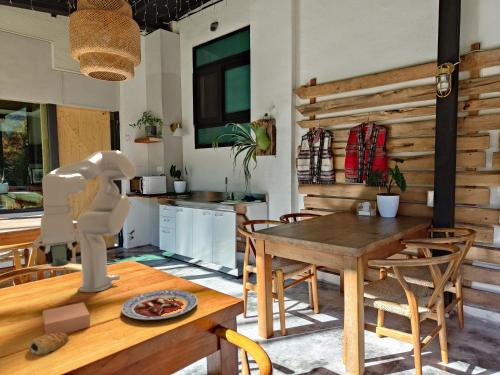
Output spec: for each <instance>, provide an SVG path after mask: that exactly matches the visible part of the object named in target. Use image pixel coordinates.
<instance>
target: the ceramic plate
mask: <svg viewBox="0 0 500 375" xmlns="http://www.w3.org/2000/svg"><path fill="white" fill-rule="evenodd" d="M167 298H168V299H169V300H171V301H168V300H166V299H167ZM174 299H180V300H183V301H185V302H186V306H185V308H184V309H183V310H181V311H179V312H177V313H173V314H170V315H165V316H161V315H163V314H165V313H170V312H173V311H176V310H178V309H182V308H181V306H183V305H184V304H183V303H182V302H180V301H176V300H174ZM172 300H173V301H172ZM197 304H198V298H197V296H196V295H195V294H193V293H191V292H188V291H186V290H178V289H177V290H176V289H166V290H156V291H155V290H154V291H150V292H149V291H148V292H145V293H141V294H138V295H135V296H134V297H131V298H129V299H128V300H126V301H125V302H124V303H123V304H122V306H121V312H122V314H123V315H124V316H126V317H129V318H130V319H131V318H132V319H135V320H144V321H149V320H150V321H151V320H153V321H154V320H162V319H163V320H164V319H168V318H169V319H170V318H174V317H177V316H180V315H183V314H185V313H188V312H189V311H191V310H192V309H193V308H195V307H196V306H197Z"/></svg>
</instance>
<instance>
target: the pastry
mask: <svg viewBox="0 0 500 375" xmlns="http://www.w3.org/2000/svg"><path fill="white" fill-rule="evenodd" d="M68 341H69V336H68V334H67V333H58V334H56V333H52V334H46V335H45V334H43V335H41V336H38V337H36V338H35V339H32V340H31V341H30V343H29V346H28V349H29V351H30V352H31V354H35V355H37V356H38V355H39V356H40V355H41V356H42V354H43V355H46V354H49V353H50V352H53V351H56V350H58V349H60V348H62V347H63V346H64V345H66V344H67V343H68ZM59 347H60V348H59Z"/></svg>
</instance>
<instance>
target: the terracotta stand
mask: <svg viewBox="0 0 500 375" xmlns="http://www.w3.org/2000/svg"><path fill="white" fill-rule="evenodd" d="M90 315H91V314H90V312H89V310H88V309H87V306H86V305H85V302H84V301H83V302H82V301H81V302H79V303H73V304H68V305H64V306H59V307H54V308H50V309H45V310H42V319H43V322H42V323H43V327H44V332H45V334H44V335H46V334H52V333H56V334H58V333H65V334H67V333H71V332H74V331H77V330H82V329H85V328H87V329H88V328H90V327H91V321H90V320H91V318H90Z"/></svg>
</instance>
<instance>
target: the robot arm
mask: <svg viewBox="0 0 500 375" xmlns="http://www.w3.org/2000/svg"><path fill="white" fill-rule="evenodd" d="M136 175H137V167H136V164H135V163H134V162H133V160H131V159H130V158H129V157H128V156H127V155H126V154H125V153H123V152H122V151H120V150H115V149H114V150H98V151H95V152H92V154H90V155H89V156H87V157H85V158H84V159H82V160H80V161H76V162H73V163H70V164H67V165H63V166H60V167H57V168H56V169H53V170H52V171H51V172H48V173H47V174H46V175H43V177H42V180H41V181H42V182H41V183H42V184H41V185H42V200H43V202H42V203H43V214H42V215H41V219H40V234H39V235H38V237H37V238H36V239H35V240H34V241H33V242H32V245H33V246H34V247H36V248H37V249H39V250H41V251H42V252H43V253H44V254H45V255H44V256H45V263H47V264H48V265H51V255H50V246H51V245H52V244H58V243H67V245H68V262H72V259H73V258H74V256H73V255H74V254H73V250H74V249H75V247H76V246H77V245H78V244H79V243H80V258H81V260H80V261H81V277H82V284H79V286H78V291H79V292H81V293H97V292H102V291H106V290H108V289H109V288H111V287H112V286H113V285H112V282H113V281H119V280H120V275H119V274H118V275H117V274H116V275H115V274H112V275H109V274H108V265H107V264H108V262H107V244H106V241H105V239H104V238H103V236H113V235H117V234H119V233H120V232H121V230H122V228H123V226H124V223H125V222H126V220H127V217H128V215H129V213H130V209H131V202H130V199H129V197H128V196H127V195H125V194H123V193H122V194H121V193H120V189H119V187H118V186H117V184H116V183H115V182H114V181H126V180H127V181H128V180H133V179H134V178H135V177H136ZM97 177H98V180H99V190H98V191H97V192H96V195H95V196H94V199H93V200H92V202H91V203H90V211H87V212H83V213H81V214H79V216H78V217H77V219H76V229H77V231H78V232H77V231H76V230H75V226H74V220H73V215H72V212H70V211H73V210H74V206H73V205H69V195H77V194H80V193H82V192H84V190H86V188H87V182H88V181H92V180H94V179H96V178H97ZM75 238H76V239H75ZM40 243H42V244H43V245H42V244H40Z"/></svg>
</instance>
